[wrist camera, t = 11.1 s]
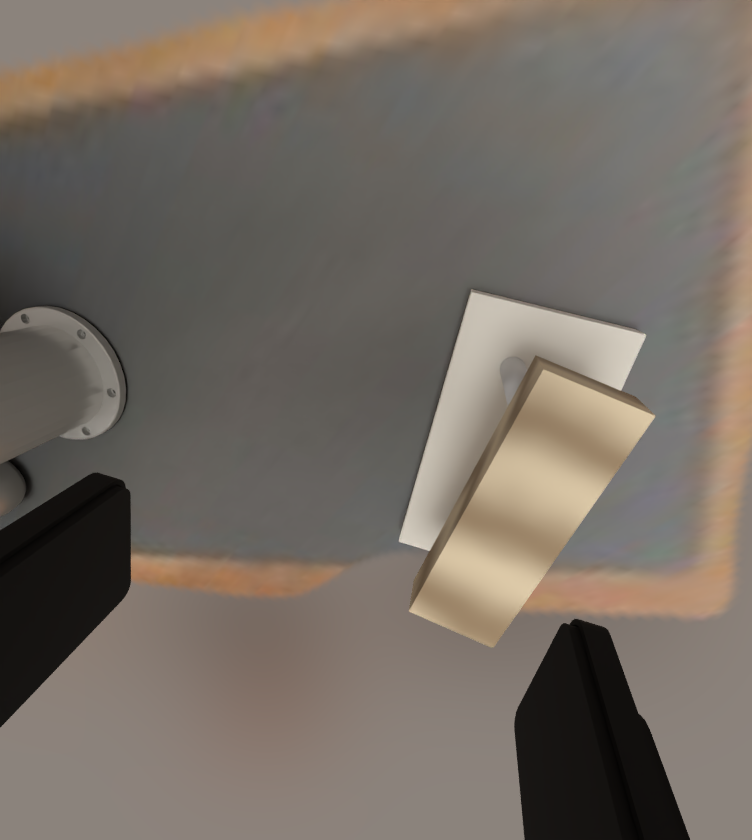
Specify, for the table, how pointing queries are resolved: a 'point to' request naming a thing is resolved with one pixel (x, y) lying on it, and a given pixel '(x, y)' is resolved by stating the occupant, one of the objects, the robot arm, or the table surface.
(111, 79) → the table surface
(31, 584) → the robot arm
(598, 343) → the peg stand
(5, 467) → the plastic bottle
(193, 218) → the table surface
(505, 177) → the table surface
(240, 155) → the table surface
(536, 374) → the shelf board
